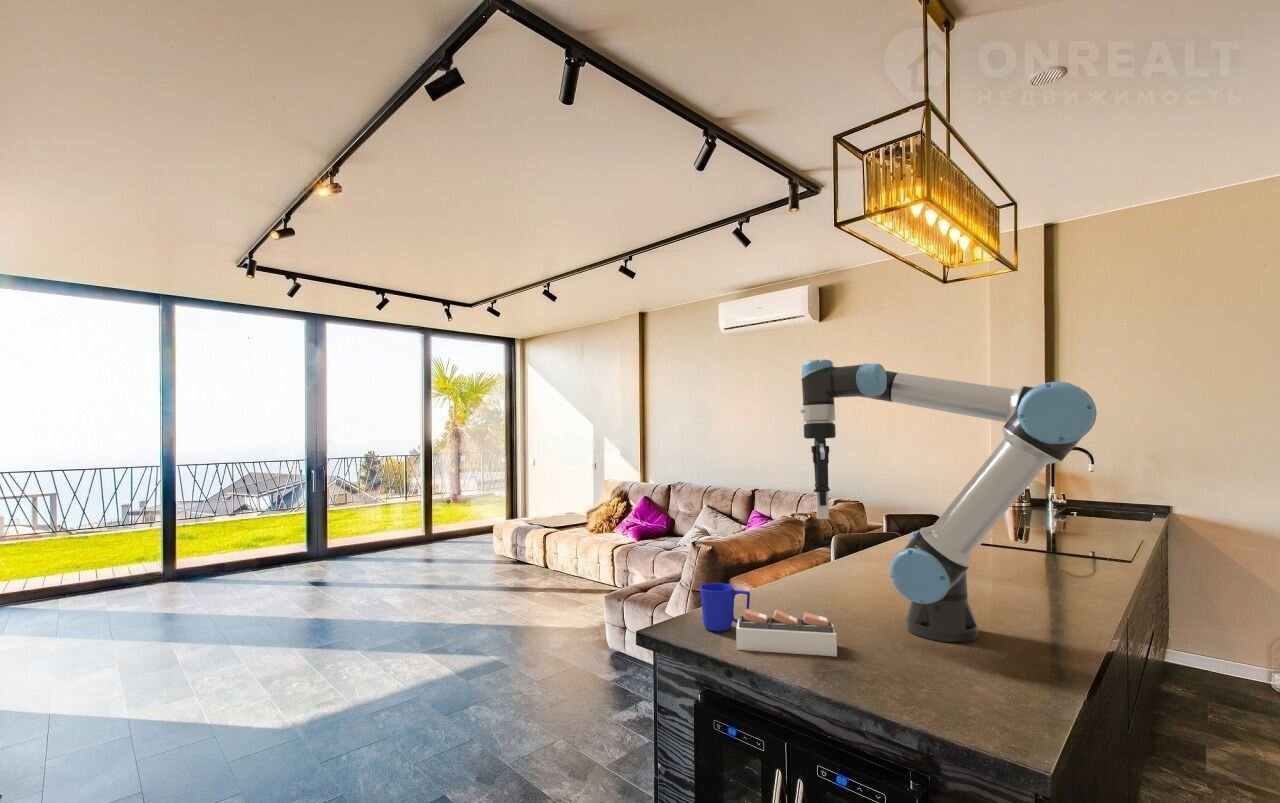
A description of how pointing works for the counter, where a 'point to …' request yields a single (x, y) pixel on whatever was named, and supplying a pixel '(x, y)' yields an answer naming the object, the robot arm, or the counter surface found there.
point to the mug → (719, 605)
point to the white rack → (786, 637)
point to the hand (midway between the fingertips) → (822, 518)
